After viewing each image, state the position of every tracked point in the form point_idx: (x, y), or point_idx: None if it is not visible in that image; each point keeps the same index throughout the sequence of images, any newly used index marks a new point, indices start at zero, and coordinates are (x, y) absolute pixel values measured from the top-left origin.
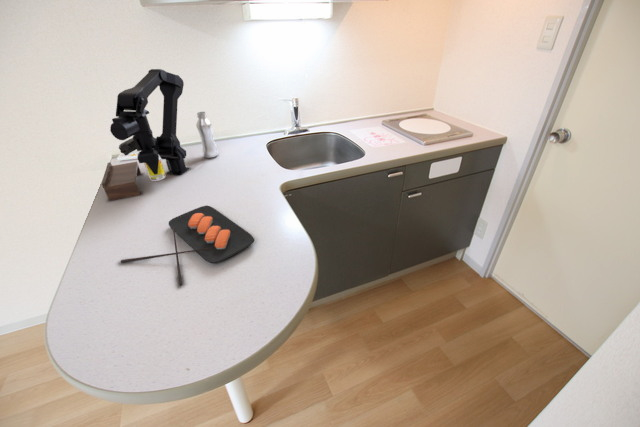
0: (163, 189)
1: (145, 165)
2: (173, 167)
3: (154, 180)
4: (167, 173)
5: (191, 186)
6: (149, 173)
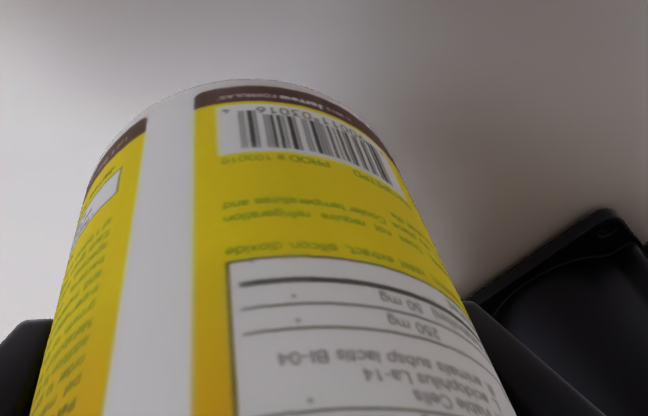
0: (89, 142)
1: None
2: (547, 360)
3: (101, 160)
4: (596, 212)
5: None
6: (111, 233)
